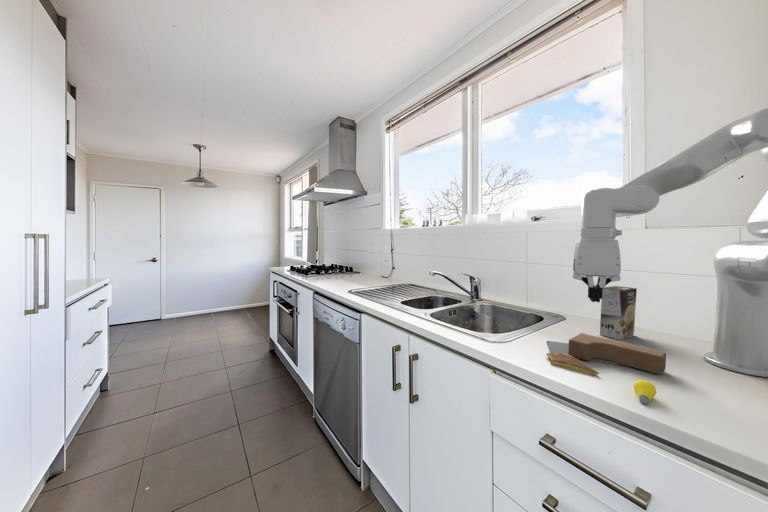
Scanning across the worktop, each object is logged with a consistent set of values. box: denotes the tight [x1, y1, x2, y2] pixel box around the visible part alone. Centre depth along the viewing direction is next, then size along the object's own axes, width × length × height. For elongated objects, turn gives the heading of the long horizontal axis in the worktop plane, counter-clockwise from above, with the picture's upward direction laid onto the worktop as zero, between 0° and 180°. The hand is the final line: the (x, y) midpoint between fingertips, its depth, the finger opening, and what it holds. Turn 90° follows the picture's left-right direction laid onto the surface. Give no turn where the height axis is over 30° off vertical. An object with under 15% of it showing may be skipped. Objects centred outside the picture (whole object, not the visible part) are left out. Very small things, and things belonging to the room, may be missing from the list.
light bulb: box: [632, 379, 658, 405], centre depth 58 cm, size 3×6×4 cm, turn 137°
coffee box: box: [599, 285, 638, 341], centre depth 95 cm, size 9×6×16 cm
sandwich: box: [545, 352, 600, 377], centre depth 72 cm, size 11×8×2 cm
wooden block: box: [568, 333, 667, 375], centre depth 73 cm, size 9×4×18 cm
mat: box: [546, 340, 628, 367], centre depth 80 cm, size 24×11×1 cm, turn 66°
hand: (594, 301), depth 79 cm, fingers closed
